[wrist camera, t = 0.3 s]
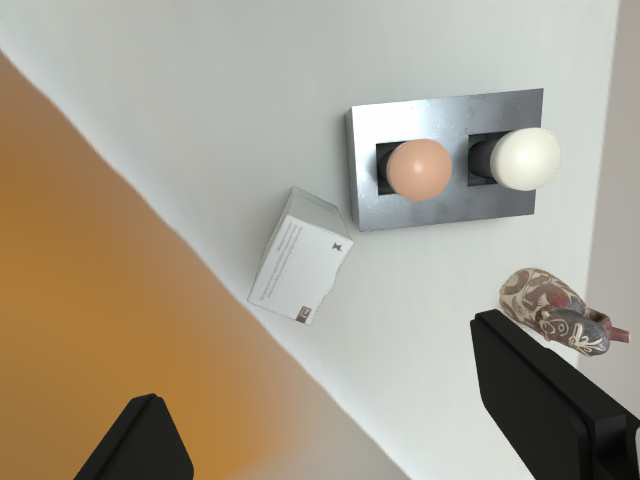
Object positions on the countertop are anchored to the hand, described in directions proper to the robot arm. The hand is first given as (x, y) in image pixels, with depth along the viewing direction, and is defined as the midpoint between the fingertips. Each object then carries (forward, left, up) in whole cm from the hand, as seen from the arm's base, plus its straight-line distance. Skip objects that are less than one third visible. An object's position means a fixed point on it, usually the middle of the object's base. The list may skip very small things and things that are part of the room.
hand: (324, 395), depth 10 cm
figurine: (+13, +27, -31) cm, 43 cm away
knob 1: (-5, +9, -26) cm, 28 cm away
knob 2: (-5, +18, -26) cm, 32 cm away
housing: (-5, +14, -30) cm, 34 cm away
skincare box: (+2, -1, -31) cm, 31 cm away
